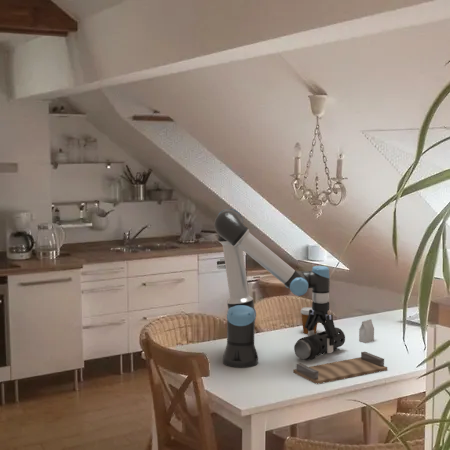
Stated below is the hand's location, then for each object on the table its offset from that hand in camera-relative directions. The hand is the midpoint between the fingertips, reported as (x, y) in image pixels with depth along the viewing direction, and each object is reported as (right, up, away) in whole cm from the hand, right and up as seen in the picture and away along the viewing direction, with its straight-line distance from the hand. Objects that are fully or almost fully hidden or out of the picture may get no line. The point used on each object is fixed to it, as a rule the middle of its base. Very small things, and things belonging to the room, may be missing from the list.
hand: (320, 348), depth 303 cm
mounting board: (+5, -5, -22) cm, 23 cm away
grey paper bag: (+25, -1, +24) cm, 35 cm away
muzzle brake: (0, -3, 0) cm, 3 cm away
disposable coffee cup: (0, +1, +38) cm, 38 cm away
